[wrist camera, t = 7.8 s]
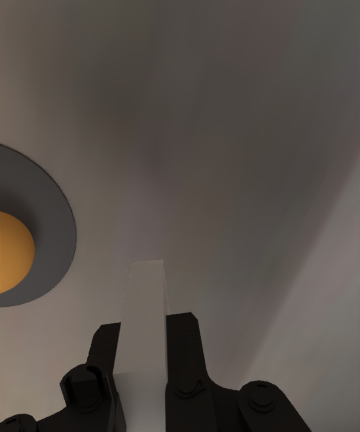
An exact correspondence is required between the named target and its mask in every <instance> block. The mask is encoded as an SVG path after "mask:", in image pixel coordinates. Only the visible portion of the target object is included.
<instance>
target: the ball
mask: <svg viewBox="0 0 360 432" xmlns="http://www.w3.org/2000/svg"><path fill="white" fill-rule="evenodd" d="M34 256H35V246H34V241H33V238H32V235H31V233H30V231H29V230H28V229H27V227H26V226H25V225H24V224H23V223H22V222H21V221H20V220H18V219H17V218H15V217H14V216H12V215H10V214H7V213H4V212H1V211H0V293H3V292H5V291H8V290H10V289H11V288H13V287H15V286H16V285H17V284H18V283H20V282H21V281H22V280H23V279H24V277H25V276H26V275H27V274H28V272H29V270H30V269H31V266H32V264H33V261H34Z"/></svg>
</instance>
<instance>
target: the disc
mask: <svg viewBox="0 0 360 432" xmlns="http://www.w3.org/2000/svg"><path fill="white" fill-rule="evenodd" d="M0 211H1V212H4V213H7V214H10V215H12V216H14V217H15V218H17V219H18V220H20V221H21V222H22V223H23V224H24V225H25V226H26V227H27V229H28V230H29V231H30V233H31V235H32V238H33V241H34V246H35V256H34V261H33V264H32V266H31V269H30V270H29V272H28V274H27V275H26V276H25V277H24V279H23V280H22V281H21V282H20V283H18V284H17V285H16V286H15V287H13V288H11V289H10V290H8V291H5V292H3V293H0V307H10V306H15V305H20V304H24V303H27V302H30V301H32V300H35V299H37V298H39V297H41V296H43V295H44V294H46V293H47V292H49V291H50V290H51V289H52V288H54V287H55V286H56V285H57V284H58V283H59V282H60V281H61V279H62V278H63V277H64V275H65V274H66V272H67V271H68V269H69V267H70V265H71V262H72V260H73V257H74V253H75V249H76V226H75V221H74V217H73V214H72V211H71V208H70V206H69V204H68V202H67V199H66V197H65V196H64V194H63V193H62V191H61V190H60V188H59V187H58V185H57V184H56V183H55V182H54V181H53V179H52V178H51V177H50V176H49V175H48V174H47V173H46V172H45V171H44V170H43V169H42V168H40V167H39V166H38V165H36V164H35V163H34V162H32V161H31V160H30V159H28V158H26V157H25V156H23V155H21V154H20V153H18V152H16V151H14V150H11V149H9V148H7V147H5V146H2V145H0Z"/></svg>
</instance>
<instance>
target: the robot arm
mask: <svg viewBox="0 0 360 432" xmlns="http://www.w3.org/2000/svg"><path fill="white" fill-rule="evenodd" d="M60 387H61V390H62V393H63V396H64V400H65V403H66V407H65V408H64V409H62V410H61V411H59V412H57V413H55V414H53V415H51V416H48V417H46V418H44V419H41V420H39V421H37V422H36V420H35V419H34V418H33V416H31V415H28V414H17V415H14V416H12V417H9V418H7V419H5V420H4V421H3V422H1V423H0V432H126V431H127V432H312V431H311V430H310V429H309V427H308V426H307V424H306V423H305V422H304V420H303V419H302V418H301V416H300V415H299V413H298V412H297V411H296V409H295V408H294V406H293V405H292V404H291V402H290V401H289V400H288V398H287V397H286V395H285V394H284V393H283V392H282V391H281V390H280V389H279V388H278V387H277V386H276V385H274V384H272V383H270V382H267V381H260V380H258V381H252V382H249V383H247V384H245V385H244V386H243V387H242V388H241V389H240V391H237V390H231V389H227V388H223V387H221V386H219V385H217V384H215V383H214V382H213V381H212V380H211V379H210V377H209V376H208V373H207V370H206V364H205V359H204V353H203V347H202V341H201V336H200V330H199V324H198V320H197V318H196V317H195V316H194V315H193V314H192V313H191V312H188V313H181V314H173V315H170V305H169V298H168V292H167V285H166V278H165V271H164V264H163V259H156V260H149V261H141V262H133V263H131V266H130V272H129V278H128V284H127V290H126V296H125V303H124V309H123V315H122V321H121V322H119V323H112V324H104V325H101V326H100V327H99V329H98V330H97V331H96V332H95V334H94V336H93V339H92V343H91V347H90V350H89V356H88V358H87V362H86V363H85V364H81V365H78V366H76V367H75V368H73V369H71V370H70V371H69V372H68V373H67V374H66V375H65V376H64V377H63V379H62V380H61V382H60Z"/></svg>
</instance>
